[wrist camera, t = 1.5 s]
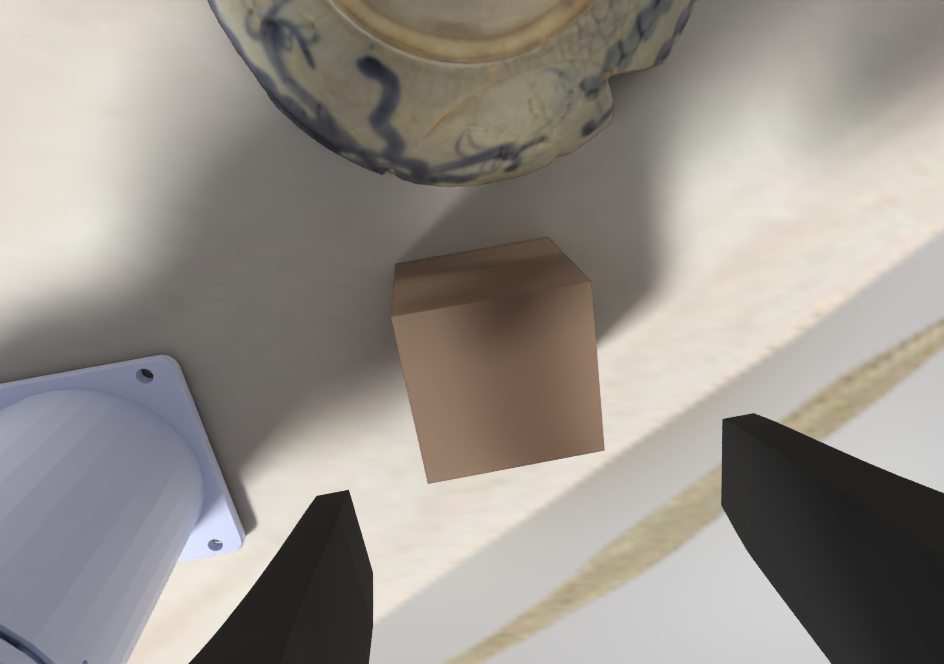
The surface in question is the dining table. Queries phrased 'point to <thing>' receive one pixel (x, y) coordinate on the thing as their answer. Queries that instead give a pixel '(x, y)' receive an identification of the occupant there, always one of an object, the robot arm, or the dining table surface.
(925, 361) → the dining table surface
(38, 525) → the robot arm
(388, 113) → the decorative bowl
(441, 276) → the walnut block
